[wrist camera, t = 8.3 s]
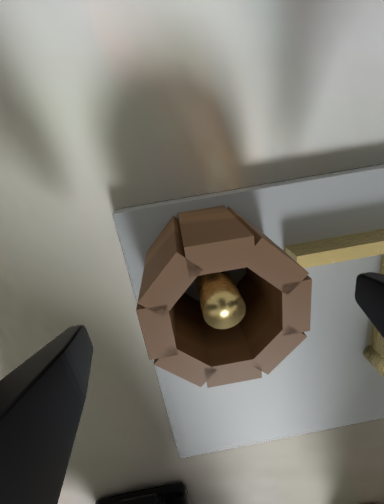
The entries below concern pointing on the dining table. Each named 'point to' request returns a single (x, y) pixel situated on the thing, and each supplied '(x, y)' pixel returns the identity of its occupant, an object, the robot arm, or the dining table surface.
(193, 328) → the walnut ring
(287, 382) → the slate board
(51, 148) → the dining table surface
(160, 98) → the dining table surface
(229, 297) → the end peg
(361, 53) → the dining table surface
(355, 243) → the bent rail
